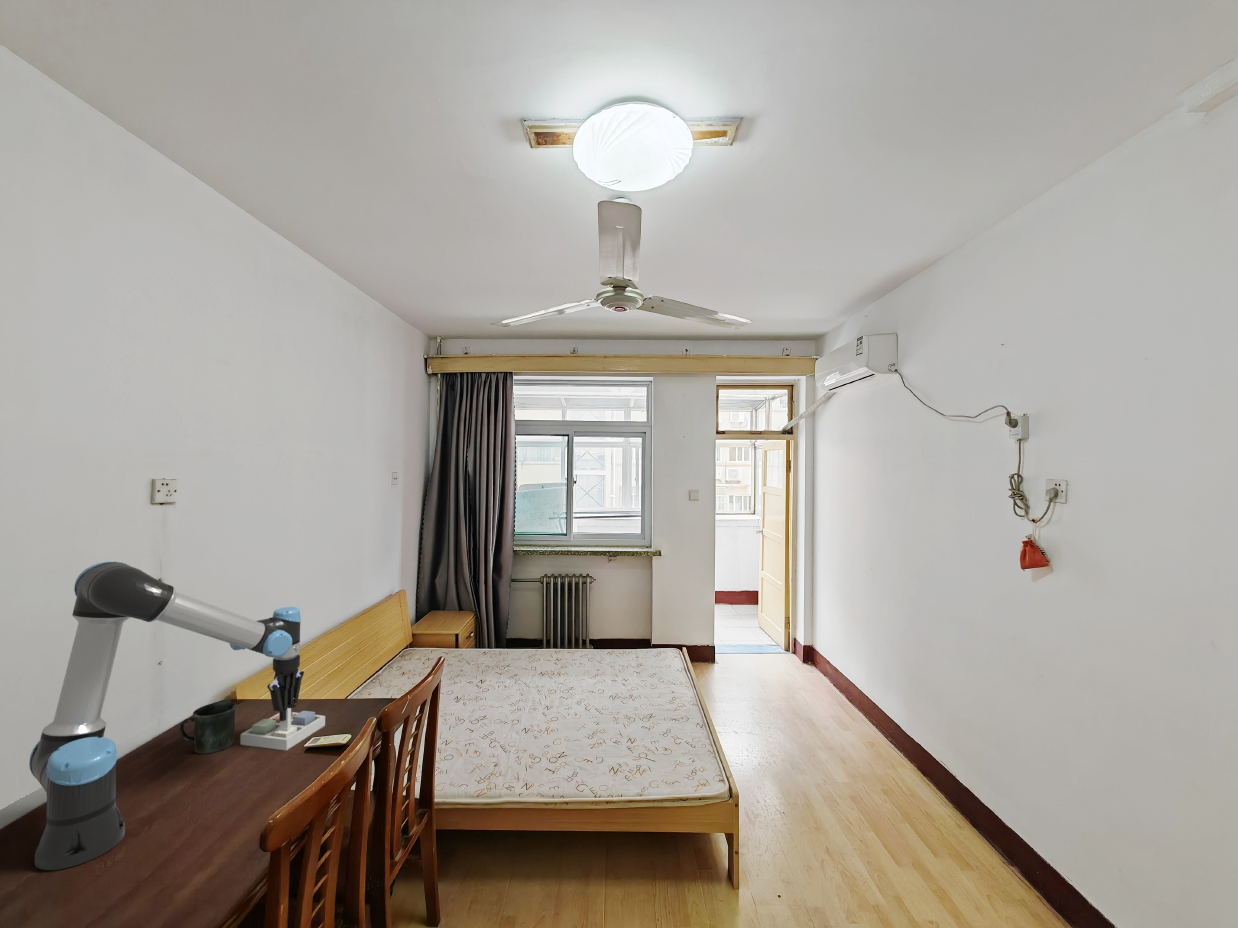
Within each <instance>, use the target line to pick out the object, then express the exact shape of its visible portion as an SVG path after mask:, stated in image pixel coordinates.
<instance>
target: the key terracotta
mask: <svg viewBox="0 0 1238 928" xmlns="http://www.w3.org/2000/svg"><path fill="white" fill-rule="evenodd" d="M293 716H295V714H292V717H291V720H292V719H293ZM279 717H280V716H279V715H278V716H276V717H274V718H273V719H272V720H276V723H280V720H279Z"/></svg>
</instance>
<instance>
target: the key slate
mask: <svg viewBox="0 0 1238 928" xmlns="http://www.w3.org/2000/svg"><path fill="white" fill-rule="evenodd" d="M297 713H298V714H297V715H295V716H293V724H296V725H306V724H308V723H310V722H311V721H313V720H315V715H316V712H315V711H310V710H302V711H300V712H297Z"/></svg>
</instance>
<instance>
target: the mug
mask: <svg viewBox="0 0 1238 928" xmlns="http://www.w3.org/2000/svg"><path fill="white" fill-rule="evenodd" d="M236 708H237V703H236V702H235V701H234V702H233V701H220V702H213V703H209V704H205V705H203V706H200V707H198V708H196V709H195V710H194V711H193V712H192V716H193V717H190V718H186V719H184V720H183V722H181V723H180V726H179V734H180V735H181V738H182V739H183V740H184V741H187V742H193V750H194V752H196V753H197V754H202V755H203V754H213V753H216V752H217V753H218V752H220V751H223V750H226V749H227V748H228V747H230V746H232V745H233V743H234V742H235V732H236V731H235V719H236V716H235V715H236V713H235V712H236ZM192 722H194V725H193V726H194V729H193V732H194V733H193V735H194V736H189V735H188V734H187V733H186V731H185V727H184V726H185V725H186V724H188V723H192Z"/></svg>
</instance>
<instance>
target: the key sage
mask: <svg viewBox="0 0 1238 928" xmlns="http://www.w3.org/2000/svg"><path fill="white" fill-rule="evenodd" d="M251 728H252V733H257V734H266V733H268V732H270V731H271V730H273V729H275V728H276V720H270V719H269V718H263V719H261V720H259V721H258V722H256V723H254V724H252V727H251Z"/></svg>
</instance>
